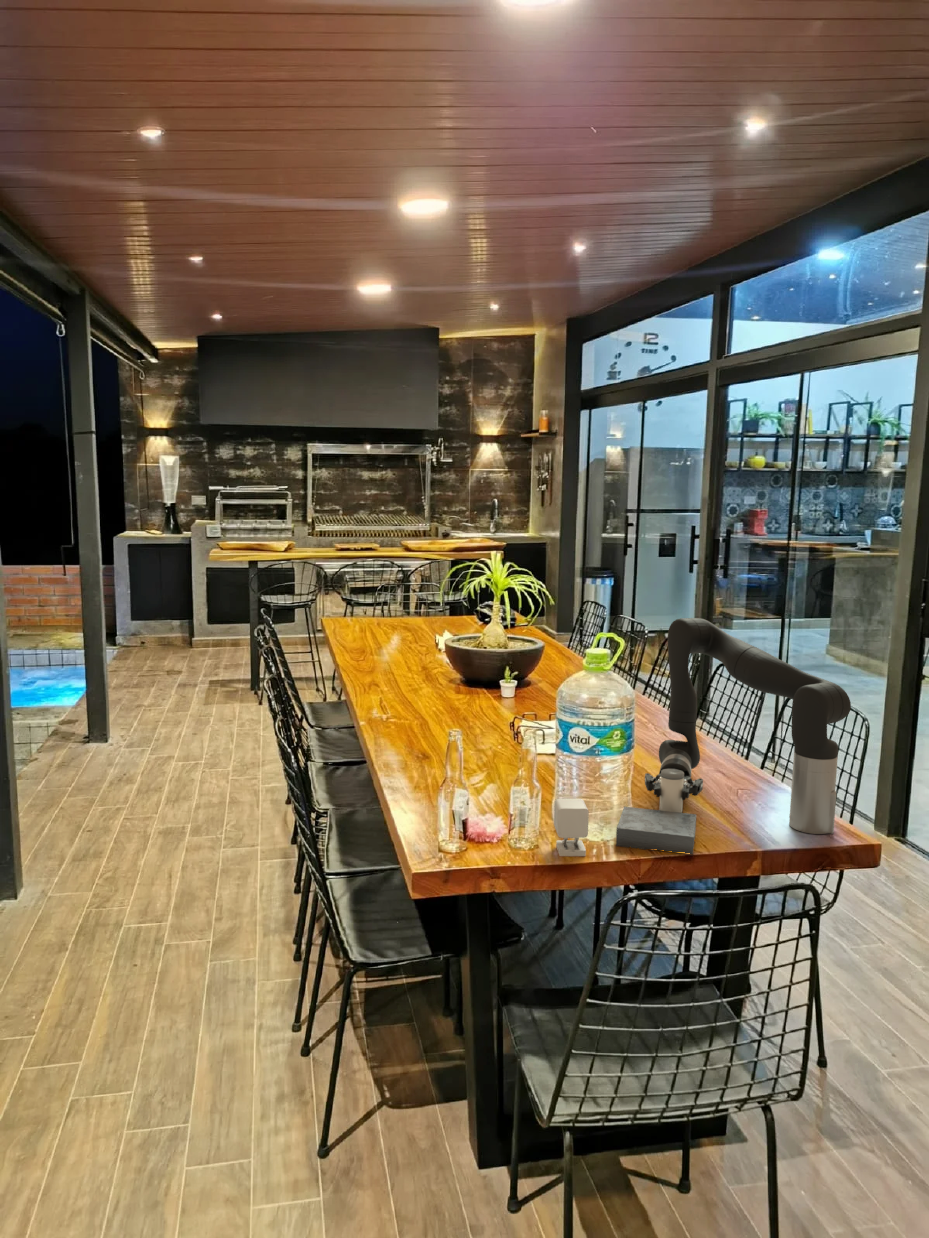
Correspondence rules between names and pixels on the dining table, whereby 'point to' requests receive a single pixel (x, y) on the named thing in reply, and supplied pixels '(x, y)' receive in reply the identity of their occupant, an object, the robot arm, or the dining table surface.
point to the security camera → (571, 826)
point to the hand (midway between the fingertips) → (671, 794)
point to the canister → (671, 790)
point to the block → (656, 830)
